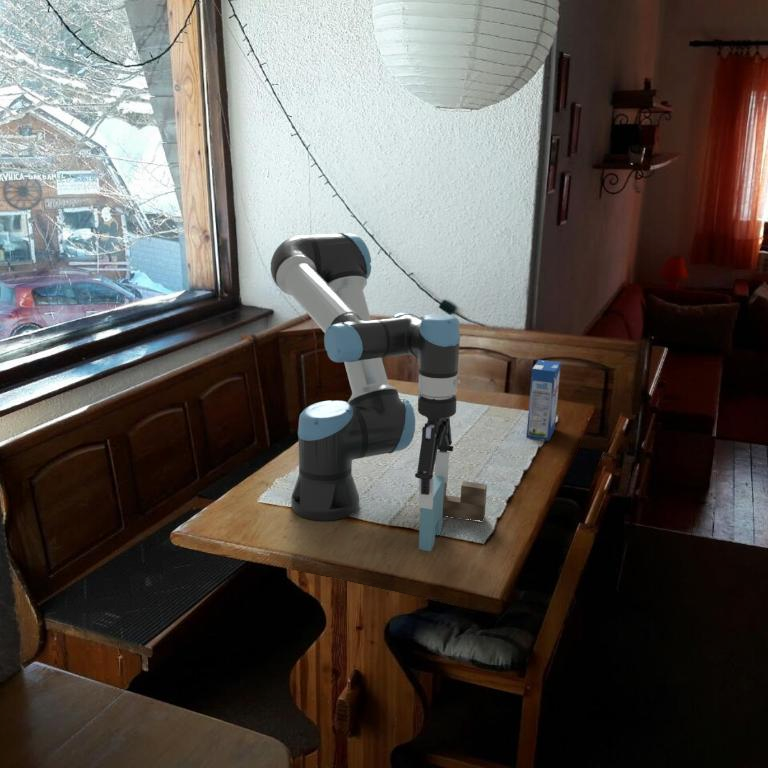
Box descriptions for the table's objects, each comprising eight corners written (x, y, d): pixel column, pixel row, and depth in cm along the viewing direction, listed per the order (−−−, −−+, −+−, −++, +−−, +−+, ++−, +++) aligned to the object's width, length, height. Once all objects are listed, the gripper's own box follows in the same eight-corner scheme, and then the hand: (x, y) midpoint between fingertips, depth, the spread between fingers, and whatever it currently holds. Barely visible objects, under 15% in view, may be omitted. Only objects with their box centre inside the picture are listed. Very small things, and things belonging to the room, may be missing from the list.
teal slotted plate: (430, 551, 161) (433, 497, 158) (418, 549, 162) (421, 495, 158) (441, 529, 171) (444, 477, 167) (430, 527, 171) (432, 475, 168)
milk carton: (548, 440, 221) (555, 371, 215) (526, 437, 223) (532, 368, 217) (554, 429, 230) (561, 362, 224) (533, 425, 232) (538, 359, 226)
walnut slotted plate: (420, 512, 178) (421, 479, 175) (422, 508, 180) (424, 475, 177) (482, 522, 174) (484, 489, 171) (484, 517, 176) (486, 484, 174)
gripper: (442, 416, 144) (437, 522, 150) (468, 378, 167) (464, 472, 173) (401, 411, 146) (399, 517, 152) (433, 375, 169) (430, 468, 175)
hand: (433, 493), depth 163 cm, fingers open, 13 cm apart
